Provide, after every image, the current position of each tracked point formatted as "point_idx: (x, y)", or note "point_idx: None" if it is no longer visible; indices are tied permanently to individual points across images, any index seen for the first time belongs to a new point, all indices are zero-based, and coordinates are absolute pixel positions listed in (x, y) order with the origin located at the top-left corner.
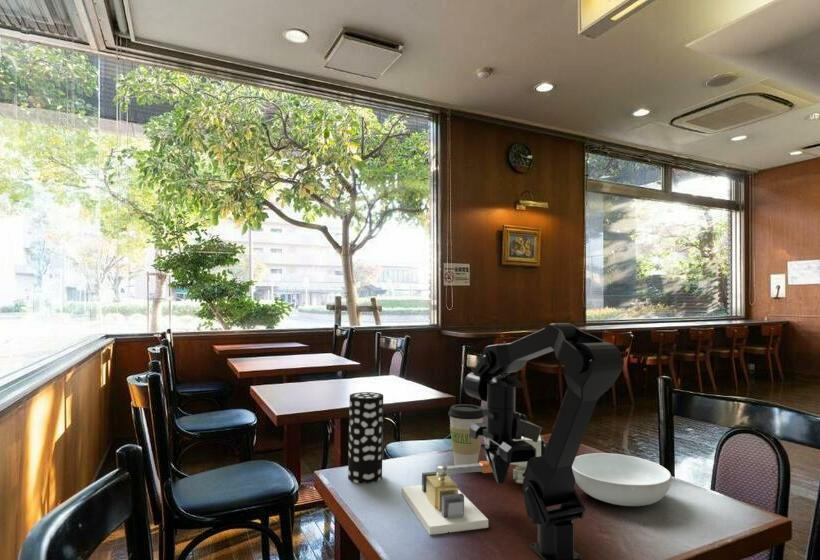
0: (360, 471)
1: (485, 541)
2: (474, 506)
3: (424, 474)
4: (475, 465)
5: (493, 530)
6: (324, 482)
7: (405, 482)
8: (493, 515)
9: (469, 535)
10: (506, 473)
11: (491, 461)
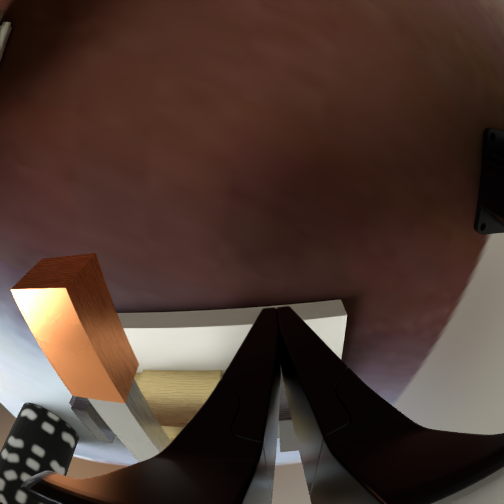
0: (72, 454)
1: (403, 324)
2: (232, 328)
3: (109, 441)
4: (125, 418)
5: (361, 289)
6: (91, 460)
7: (45, 385)
8: (255, 253)
9: (361, 351)
10: (324, 343)
11: (273, 473)
